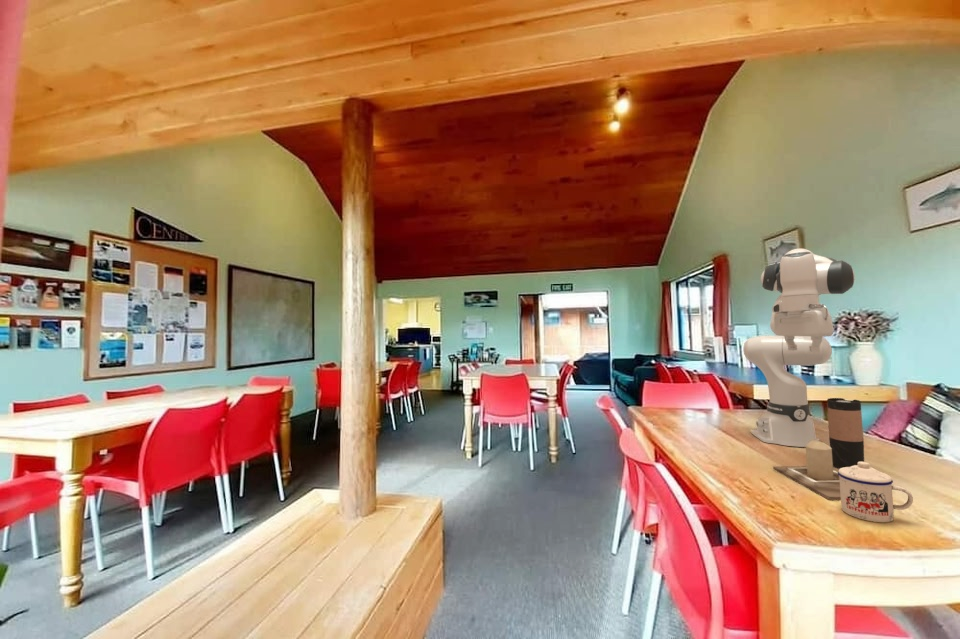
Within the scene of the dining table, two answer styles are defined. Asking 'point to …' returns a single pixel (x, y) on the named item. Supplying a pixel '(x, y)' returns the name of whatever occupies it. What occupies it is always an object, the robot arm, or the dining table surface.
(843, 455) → the travel mug
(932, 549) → the dining table surface
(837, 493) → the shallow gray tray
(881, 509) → the teacup with lid
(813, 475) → the candle
